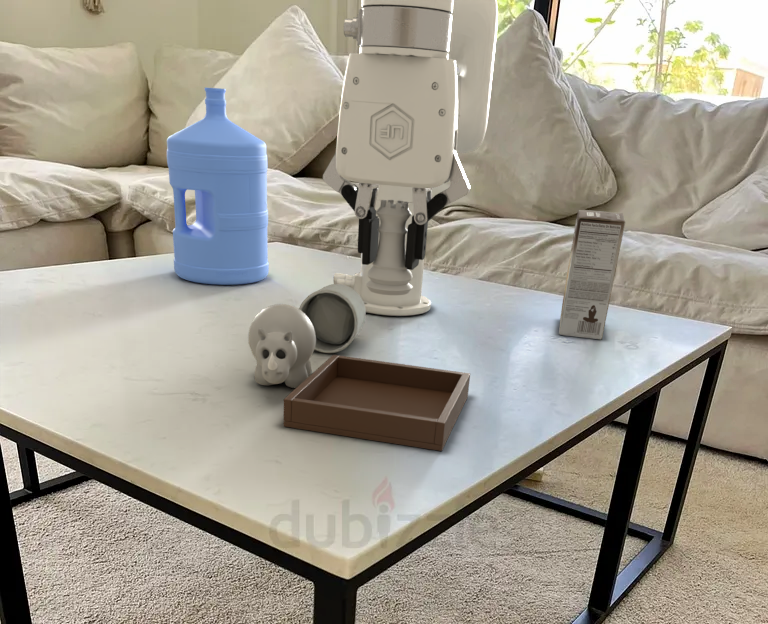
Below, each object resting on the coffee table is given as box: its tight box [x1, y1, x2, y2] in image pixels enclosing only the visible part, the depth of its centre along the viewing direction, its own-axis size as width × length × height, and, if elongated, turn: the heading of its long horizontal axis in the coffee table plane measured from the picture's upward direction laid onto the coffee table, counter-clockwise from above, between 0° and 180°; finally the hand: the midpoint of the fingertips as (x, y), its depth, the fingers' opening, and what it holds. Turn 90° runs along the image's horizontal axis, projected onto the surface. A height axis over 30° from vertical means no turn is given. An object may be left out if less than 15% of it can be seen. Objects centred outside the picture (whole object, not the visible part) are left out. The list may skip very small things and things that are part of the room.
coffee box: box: [558, 209, 626, 340], centre depth 111 cm, size 9×6×16 cm
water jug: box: [166, 87, 270, 286], centre depth 125 cm, size 16×16×28 cm
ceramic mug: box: [298, 283, 367, 354], centre depth 99 cm, size 11×8×8 cm
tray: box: [283, 354, 471, 452], centre depth 80 cm, size 16×16×3 cm
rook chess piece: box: [366, 200, 412, 295], centre depth 73 cm, size 4×4×8 cm
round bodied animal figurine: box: [247, 303, 316, 389], centre depth 82 cm, size 7×12×8 cm, turn 177°
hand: (390, 262), depth 73 cm, fingers closed on rook chess piece, 3 cm apart
